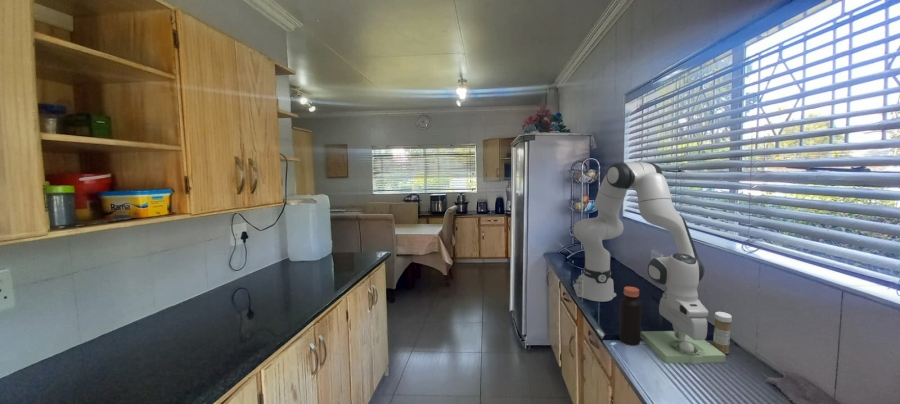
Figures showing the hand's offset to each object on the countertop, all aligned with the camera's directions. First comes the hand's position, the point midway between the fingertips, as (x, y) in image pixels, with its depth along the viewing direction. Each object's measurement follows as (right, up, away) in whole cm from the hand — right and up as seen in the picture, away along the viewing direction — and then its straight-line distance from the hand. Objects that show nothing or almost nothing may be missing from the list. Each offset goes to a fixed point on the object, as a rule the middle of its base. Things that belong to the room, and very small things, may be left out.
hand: (679, 338), depth 119 cm
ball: (0, -2, -3) cm, 4 cm away
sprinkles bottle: (+13, -4, -2) cm, 14 cm away
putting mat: (0, -4, 0) cm, 4 cm away
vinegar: (-14, -4, +6) cm, 16 cm away
